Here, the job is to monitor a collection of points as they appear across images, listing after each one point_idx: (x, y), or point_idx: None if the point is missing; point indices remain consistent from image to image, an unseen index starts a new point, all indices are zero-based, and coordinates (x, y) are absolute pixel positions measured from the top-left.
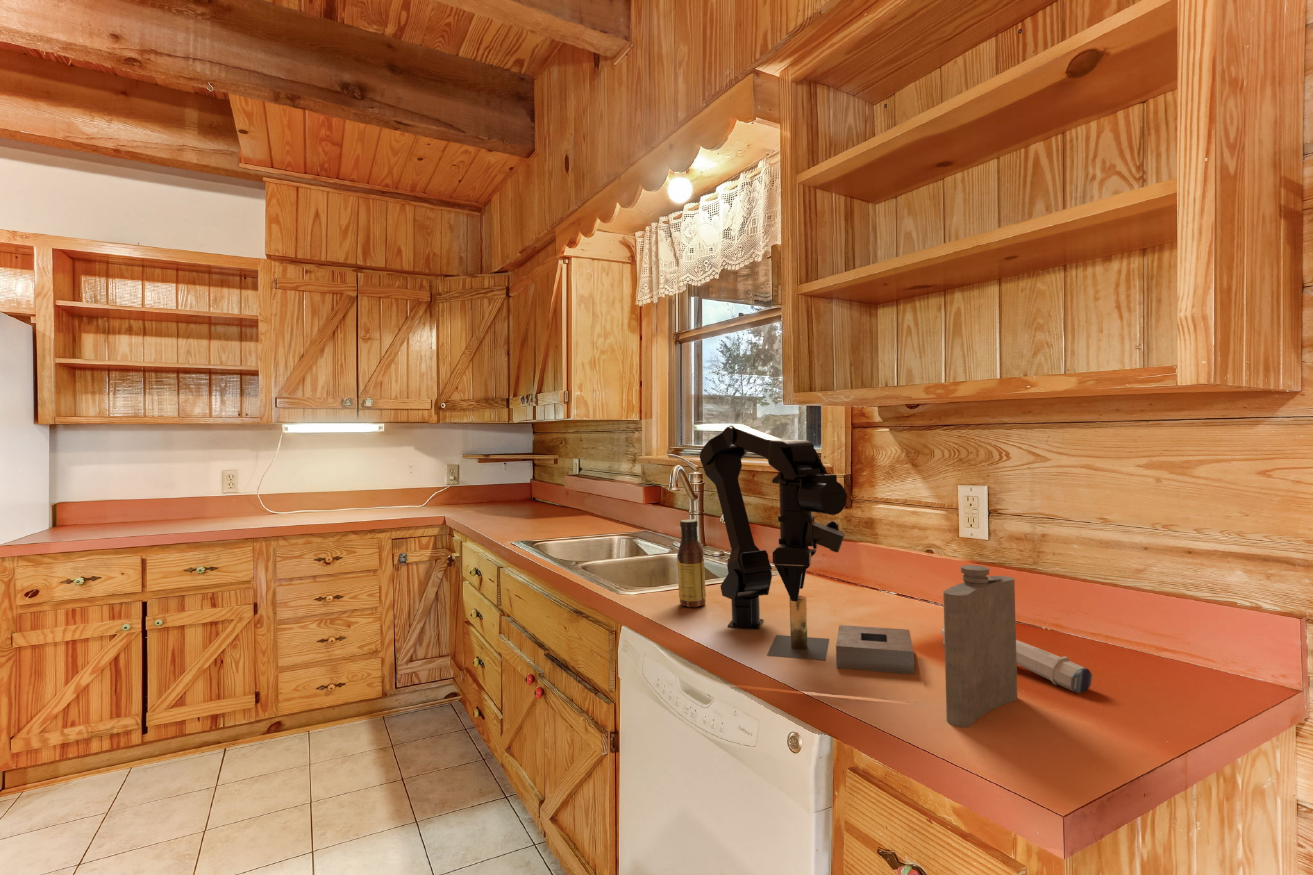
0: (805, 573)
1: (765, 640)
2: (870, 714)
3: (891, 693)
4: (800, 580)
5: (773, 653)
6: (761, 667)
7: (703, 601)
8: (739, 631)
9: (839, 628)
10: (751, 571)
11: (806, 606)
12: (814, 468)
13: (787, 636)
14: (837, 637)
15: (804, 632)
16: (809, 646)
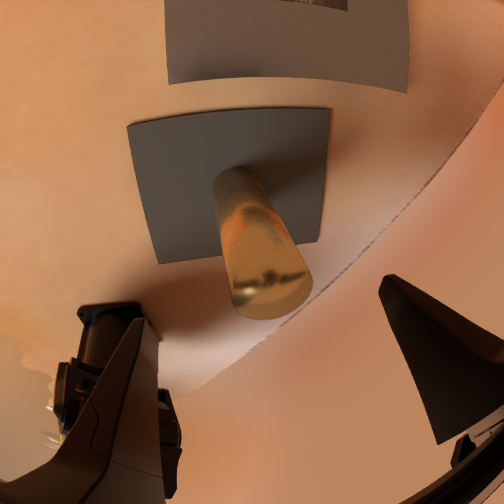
0: (119, 385)
1: (195, 272)
2: (489, 73)
3: (441, 15)
4: (476, 325)
5: (302, 232)
6: (365, 233)
7: (77, 390)
8: (161, 325)
9: (220, 75)
10: (163, 448)
11: (263, 234)
12: None
13: (157, 237)
14: (336, 80)
15: (261, 190)
16: (224, 163)
